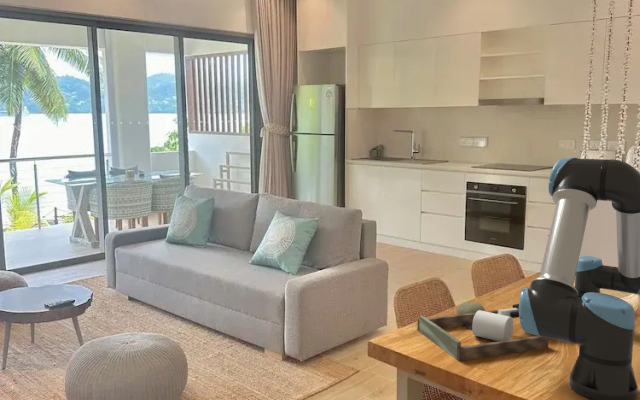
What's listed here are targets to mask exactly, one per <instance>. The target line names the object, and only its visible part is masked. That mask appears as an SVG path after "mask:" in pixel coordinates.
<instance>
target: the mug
mask: <svg viewBox="0 0 640 400" xmlns="http://www.w3.org/2000/svg"><path fill="white" fill-rule="evenodd" d="M486 311H487V310H485V311H481V310H479V311H477V312H476V314H475V316H474V319H473V324H472V329H471V331H472V334H473V335H474V336H475V337H478V338H479V337H480V338H483V339H487V340H490V341H493V342H499V341H506V340H512V337H513V336H512V335H513V332H514V318H512V317H509V316H504V315H500V314H495V313H490V312H486Z"/></svg>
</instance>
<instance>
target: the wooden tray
mask: <svg viewBox="0 0 640 400" xmlns="http://www.w3.org/2000/svg"><path fill="white" fill-rule="evenodd" d="M498 310H499V309H496V310H488V311H487V310H485V311H486V312H490V313H495V314H498ZM475 314H476V313H468V314H460V315H458V314H453V315H446V316H445V315H444V316H437V317H428V318H427V317H425V316H424V315H420V316H419V319H417V327H416V328H417V332H419V333H421V334H422V336H423V335H424V336H425V337H426V338H428V339H429V340H430V341H431V342H433V343H434V344H435V345H437V346H438V347H439V348H440V349H442V350H443V351H445V352H446V353H447V354H449V355H450V356H451V357H453V358H454V359H455V360H457V361H458V362H460V361H461V362H463V361H468V360H474V359H475V360H476V359H480V358H481V359H482V358H487V357H489V358H490V357H493V356H495V357H496V356H501V355H507V354H508V355H509V354H513V353H514V354H515V353H521V352H527V351H529V352H530V351H534V350H540V349H541V350H542V349H547V348H548V349H549V339H550V338H546V337H539V336H537V335H534V336H529V337H522V338H514V339H510V340H506V341H499V342H498V341H493V342H486V343H480V344H479V343H478V344H470V345H465V346H462V342H461V341H460V340H459V339H458V338H456V337H455V336H453V335H451V334H450V333H449V332H447V331H446V330H444V329H448V328H456V327H465V328H466V329H468V330H469V331H470V330H472V324H473V319H474V316H475Z"/></svg>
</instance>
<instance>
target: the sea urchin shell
mask: <svg viewBox="0 0 640 400" xmlns="http://www.w3.org/2000/svg"><path fill="white" fill-rule="evenodd" d="M479 310H481V311H486V309H485V307H484V306H483V305H482V304H480V303H479V302H474V301H463V302H462V303H459V304H458V306H457V308H456V313H457V315H460V314H468V313H476V312H477V311H479Z"/></svg>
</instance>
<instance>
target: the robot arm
mask: <svg viewBox="0 0 640 400" xmlns="http://www.w3.org/2000/svg"><path fill="white" fill-rule="evenodd" d="M548 193H549V195H550V197H551V198H552V202H553V203H554V204H555V205H556V206H555V209H554V214H553V218H552V221H551V225H550V230H549V234H548V235H549V236H548V237H547V238H548V239H547V243H546V247H545V251H544V255H543V259H542V263H541V269H540V272H539V276H538V277H536V278H534V279H532V281H531V282H530V287H523V288H522V289H521V291H520V295H519V298H518V299H519V300H518V302H519V303H515V304H512V307H511V308H504V309H497V310H498V314H500V315H504V316H509V317H512V319H517V318H518V319H519V322H520V324H519V325H520V326H521V328H522V330H523V332H525V333H527V334H530V335H534V336H539V337H546V338H549V339H551V340H552V339H553V340H557V341H560V342H566V343H571V344H575V345H578V346H579V349H578V356H577V358H576V361H575V362H574V364H573V367H572V369H571V371H570V373H569V374H570V375H569V381H568V382H569V386H570V387H571V389H572V390H573V391H574V392H576V393H577V394H579V395H581V396H583V397H584V398H587V399H590V400H637V399H638V395H639V394H638V392H639V387H638V382H637V379H636V376H635V372H634V368H633V365H632V364H633V363H632V362H633V361H632V360H633V352H634V351H633V350H634V349H633V348H634V337H635V336H634V335H635V329H636V325H637V324H636V311H635V309H634V308H635V307H633V306H632V304H630V303H629V302H628V301H626V300H624V299H623V298H620V297H617V296H615V295H612V294H607V293H604V292H601V289H602V290H609V291H616V292H621V293H628V294H632V295H633V294H634V295H640V172H639V171H638V170H637V169H636V168H635V167H634V166H632V165H631V164H629V163H628V162H625V161H623V160H620V159H614V158H613V159H606V158H605V159H603V158H602V159H601V158H598V159H596V158H579V157H565V158H561V159H559V160H557V161H556V162H555V163H554V165H553V167H552V168H551V171H550V174H549V182H548ZM598 201H603V202H608V201H609V202H611V206H612V208H613V210H615V217H616V218H615V219H616V223H615V224H616V248H617V252H616V253H617V266H613V265H605V264H603V260H602V258H600V257H595V256H589V255H587V256H586V255H583V256H581V250H582V246H583V240H584V236H585V231H586V226H587V223H588V218H589V213H590V211H592V210H594V209H595V208H596V207H597V203H598Z"/></svg>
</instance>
